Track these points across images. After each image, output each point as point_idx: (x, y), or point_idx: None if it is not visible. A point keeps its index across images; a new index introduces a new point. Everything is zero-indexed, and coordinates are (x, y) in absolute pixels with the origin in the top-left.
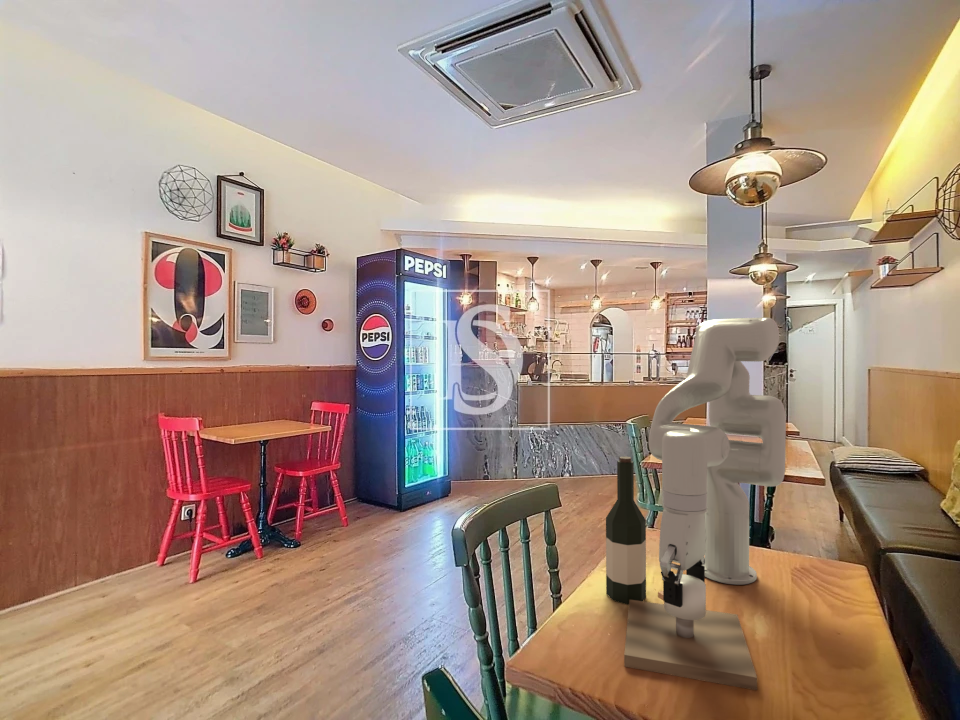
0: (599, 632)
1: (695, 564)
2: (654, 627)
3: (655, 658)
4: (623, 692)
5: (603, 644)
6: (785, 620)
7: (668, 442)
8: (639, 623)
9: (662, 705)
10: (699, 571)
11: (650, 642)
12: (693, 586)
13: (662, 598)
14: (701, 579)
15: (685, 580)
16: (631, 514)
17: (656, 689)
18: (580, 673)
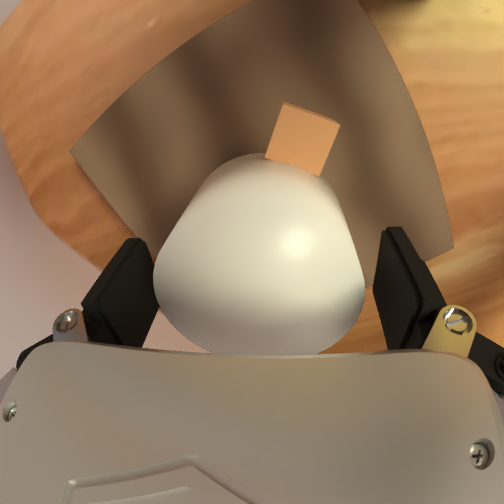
0: (138, 8)
1: (408, 344)
2: (228, 112)
3: (112, 200)
4: (48, 191)
5: (105, 54)
6: (489, 285)
7: None
8: (210, 69)
9: (79, 243)
10: (389, 336)
11: (151, 153)
12: (248, 338)
13: (273, 129)
14: (380, 313)
15: (283, 299)
16: None
17: (92, 219)
18: (22, 116)
